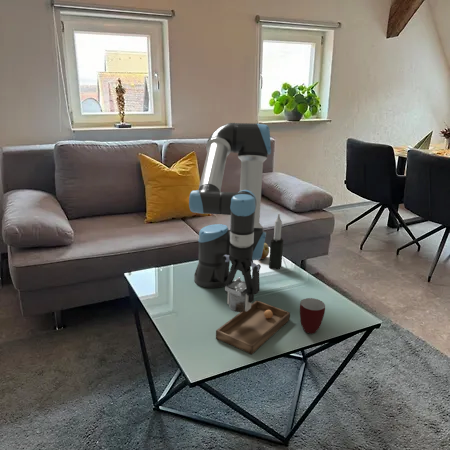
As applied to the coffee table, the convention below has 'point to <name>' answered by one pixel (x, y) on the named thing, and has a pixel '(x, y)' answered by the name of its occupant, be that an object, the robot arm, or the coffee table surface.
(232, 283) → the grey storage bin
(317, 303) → the mug
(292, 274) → the coffee table surface
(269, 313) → the ball
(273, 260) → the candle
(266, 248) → the fruit
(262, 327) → the tray
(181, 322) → the coffee table surface
